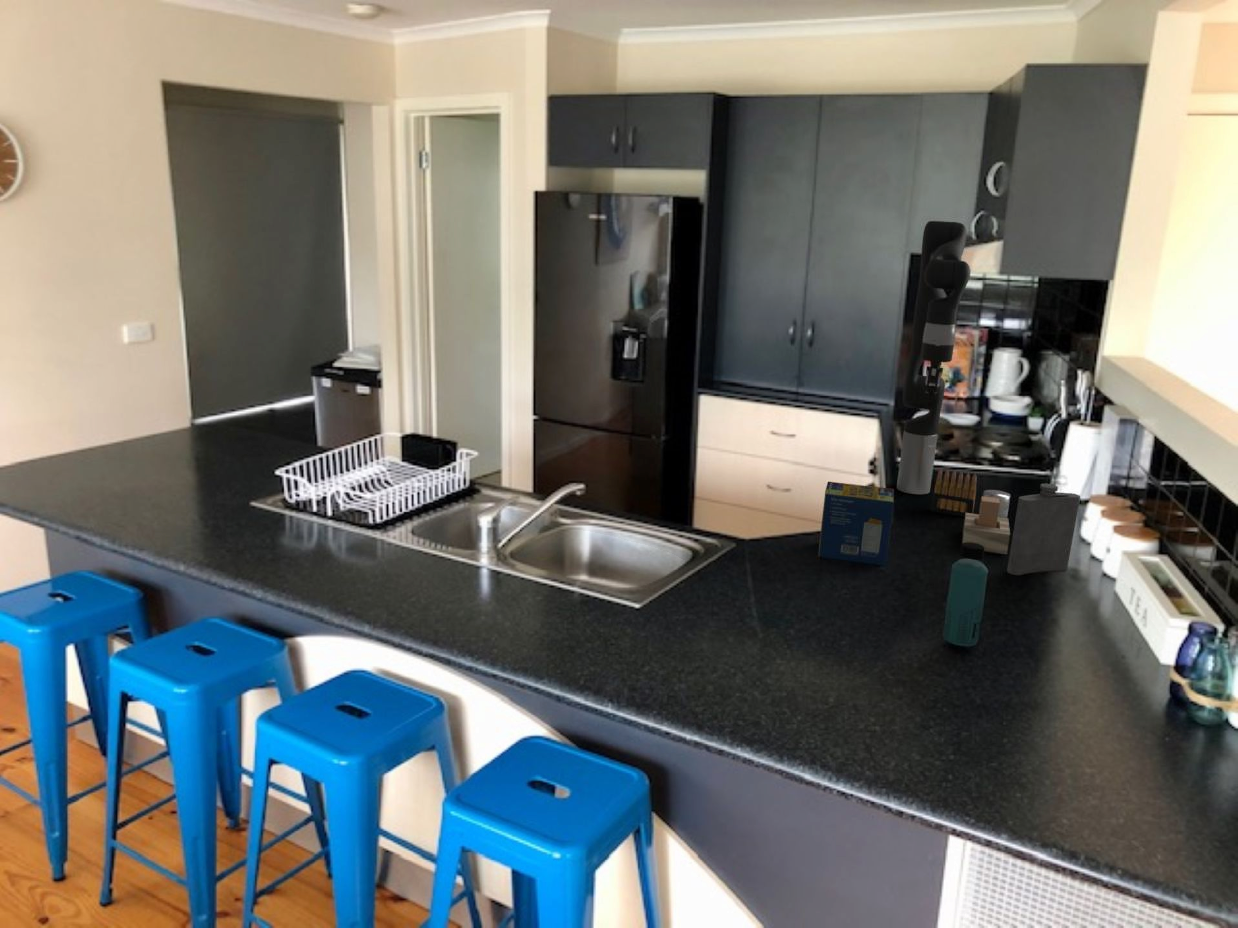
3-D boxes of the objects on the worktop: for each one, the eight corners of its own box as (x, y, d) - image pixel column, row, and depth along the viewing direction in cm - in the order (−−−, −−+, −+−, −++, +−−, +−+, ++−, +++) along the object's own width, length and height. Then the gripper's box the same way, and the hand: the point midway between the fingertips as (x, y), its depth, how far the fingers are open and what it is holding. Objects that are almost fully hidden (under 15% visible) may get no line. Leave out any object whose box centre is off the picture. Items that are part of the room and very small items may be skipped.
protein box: (820, 542, 228) (827, 480, 224) (887, 551, 225) (894, 488, 220) (817, 557, 219) (824, 492, 215) (886, 566, 215) (894, 501, 211)
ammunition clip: (973, 516, 253) (979, 473, 250) (972, 518, 252) (978, 474, 249) (931, 509, 258) (937, 466, 255) (930, 510, 257) (936, 468, 253)
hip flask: (1013, 575, 213) (1027, 490, 207) (1001, 569, 216) (1014, 484, 211) (1070, 569, 218) (1085, 486, 213) (1057, 563, 222) (1071, 481, 216)
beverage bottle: (973, 657, 172) (989, 553, 167) (935, 647, 176) (950, 545, 170) (981, 644, 178) (996, 543, 172) (944, 635, 181) (959, 535, 176)
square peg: (975, 534, 236) (981, 496, 233) (993, 537, 234) (999, 498, 232) (976, 539, 232) (982, 500, 229) (993, 542, 231) (999, 503, 228)
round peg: (978, 521, 249) (983, 488, 247) (1004, 525, 247) (1009, 491, 245) (979, 528, 244) (983, 495, 241) (1005, 532, 242) (1011, 498, 239)
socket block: (962, 531, 241) (965, 512, 240) (1005, 537, 238) (1008, 518, 236) (962, 547, 229) (965, 528, 228) (1006, 554, 226) (1010, 534, 225)
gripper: (924, 337, 246) (916, 398, 250) (921, 343, 233) (913, 408, 237) (954, 339, 244) (946, 401, 248) (953, 346, 231) (944, 412, 235)
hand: (929, 405), depth 243 cm, fingers open, 8 cm apart
